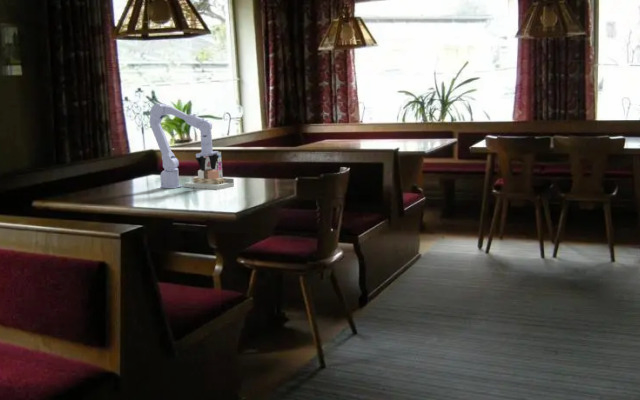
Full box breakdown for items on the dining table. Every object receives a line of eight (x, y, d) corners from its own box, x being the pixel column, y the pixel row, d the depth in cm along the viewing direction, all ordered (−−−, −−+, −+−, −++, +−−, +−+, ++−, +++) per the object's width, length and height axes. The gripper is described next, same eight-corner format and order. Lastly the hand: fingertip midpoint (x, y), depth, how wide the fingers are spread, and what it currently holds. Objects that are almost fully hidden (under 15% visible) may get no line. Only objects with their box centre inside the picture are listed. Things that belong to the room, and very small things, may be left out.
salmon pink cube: (208, 178, 359) (207, 171, 358) (213, 177, 362) (212, 170, 361) (213, 179, 356) (213, 171, 356) (219, 178, 360) (218, 170, 359)
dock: (184, 186, 364) (184, 179, 363) (200, 183, 374) (200, 176, 373) (218, 189, 350) (217, 181, 350) (233, 186, 360) (233, 178, 359)
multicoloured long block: (193, 182, 365) (192, 169, 363) (200, 181, 369) (199, 168, 368) (218, 184, 354) (217, 170, 353) (224, 183, 358) (224, 169, 357)
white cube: (198, 178, 363) (197, 170, 362) (203, 177, 366) (203, 169, 365) (203, 178, 360) (203, 170, 360) (209, 177, 364) (208, 169, 363)
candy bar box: (223, 180, 382) (221, 151, 380) (218, 182, 378) (217, 152, 375) (205, 180, 387) (204, 151, 384) (201, 181, 382) (199, 152, 379)
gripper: (202, 145, 350) (203, 171, 352) (221, 142, 362) (223, 168, 364) (192, 145, 354) (193, 171, 356) (212, 142, 366) (213, 167, 368)
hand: (208, 169), depth 360 cm, fingers open, 7 cm apart
